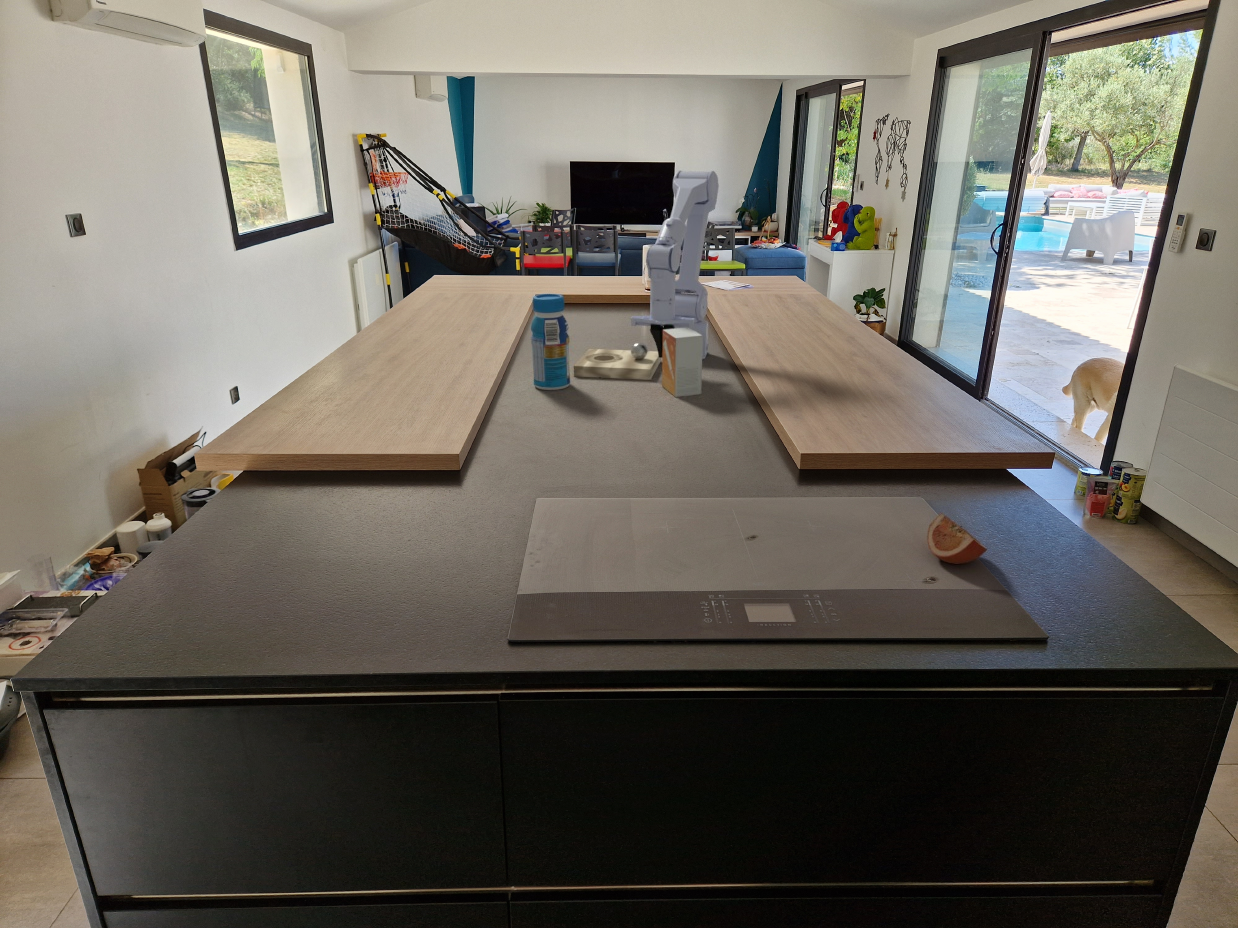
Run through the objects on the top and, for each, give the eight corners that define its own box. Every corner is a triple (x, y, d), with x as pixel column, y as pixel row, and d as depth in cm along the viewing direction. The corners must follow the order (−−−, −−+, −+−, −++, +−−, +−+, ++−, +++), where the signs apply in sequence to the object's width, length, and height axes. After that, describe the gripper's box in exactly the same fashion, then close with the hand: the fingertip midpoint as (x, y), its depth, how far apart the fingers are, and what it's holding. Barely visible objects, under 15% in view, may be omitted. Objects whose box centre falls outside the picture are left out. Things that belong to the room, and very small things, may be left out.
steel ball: (648, 357, 194) (648, 341, 192) (646, 362, 190) (646, 345, 189) (632, 356, 195) (632, 340, 193) (629, 361, 191) (629, 344, 190)
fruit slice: (915, 545, 111) (920, 512, 109) (961, 542, 112) (967, 509, 110) (945, 575, 104) (950, 541, 102) (994, 572, 104) (1001, 537, 102)
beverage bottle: (525, 388, 181) (520, 298, 173) (546, 378, 187) (542, 291, 180) (558, 393, 177) (554, 301, 169) (577, 383, 184) (575, 294, 176)
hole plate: (660, 361, 200) (660, 351, 199) (650, 379, 186) (650, 369, 185) (589, 358, 203) (589, 348, 202) (573, 376, 189) (573, 365, 188)
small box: (661, 387, 180) (661, 329, 175) (688, 384, 182) (689, 327, 177) (674, 397, 173) (675, 337, 168) (702, 394, 175) (703, 335, 170)
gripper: (628, 301, 184) (628, 359, 189) (692, 303, 181) (691, 362, 186) (633, 295, 190) (634, 352, 195) (695, 297, 187) (694, 354, 193)
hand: (662, 356), depth 191 cm, fingers closed
